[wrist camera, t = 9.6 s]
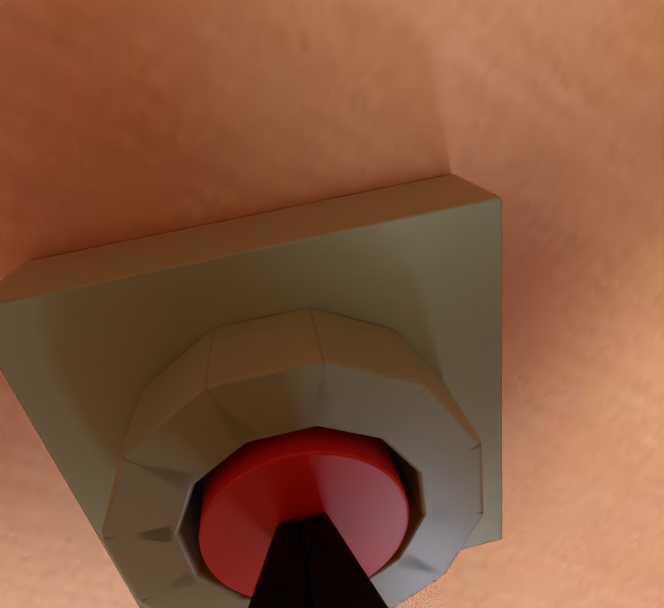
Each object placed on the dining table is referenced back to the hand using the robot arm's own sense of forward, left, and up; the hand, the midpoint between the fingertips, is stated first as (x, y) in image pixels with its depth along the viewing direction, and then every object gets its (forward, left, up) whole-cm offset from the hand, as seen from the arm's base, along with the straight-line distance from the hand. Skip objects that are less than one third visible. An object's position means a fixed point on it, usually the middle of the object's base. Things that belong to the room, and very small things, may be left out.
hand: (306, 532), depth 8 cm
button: (0, 0, -2) cm, 2 cm away
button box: (0, 0, -4) cm, 4 cm away
